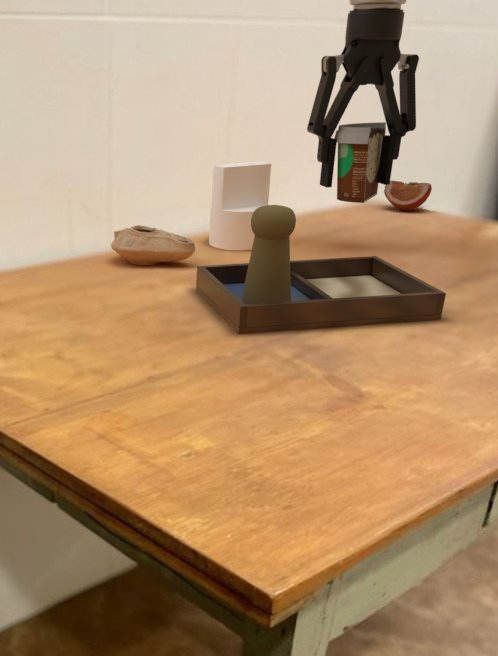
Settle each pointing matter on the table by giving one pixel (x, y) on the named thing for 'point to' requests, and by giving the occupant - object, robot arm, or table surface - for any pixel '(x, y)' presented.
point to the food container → (358, 160)
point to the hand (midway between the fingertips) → (354, 184)
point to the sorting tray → (323, 296)
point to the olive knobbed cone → (270, 256)
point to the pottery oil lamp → (151, 245)
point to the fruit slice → (407, 194)
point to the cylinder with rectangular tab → (237, 202)
